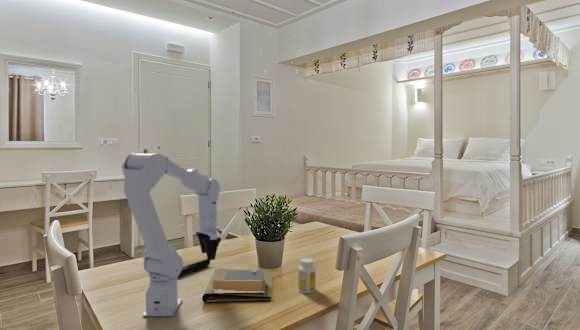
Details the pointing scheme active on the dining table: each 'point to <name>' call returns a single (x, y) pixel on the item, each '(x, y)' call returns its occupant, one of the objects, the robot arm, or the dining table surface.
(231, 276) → the camera body
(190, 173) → the robot arm
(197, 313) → the dining table surface
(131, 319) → the dining table surface
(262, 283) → the side door
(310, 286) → the supplement bottle
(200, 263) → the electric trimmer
